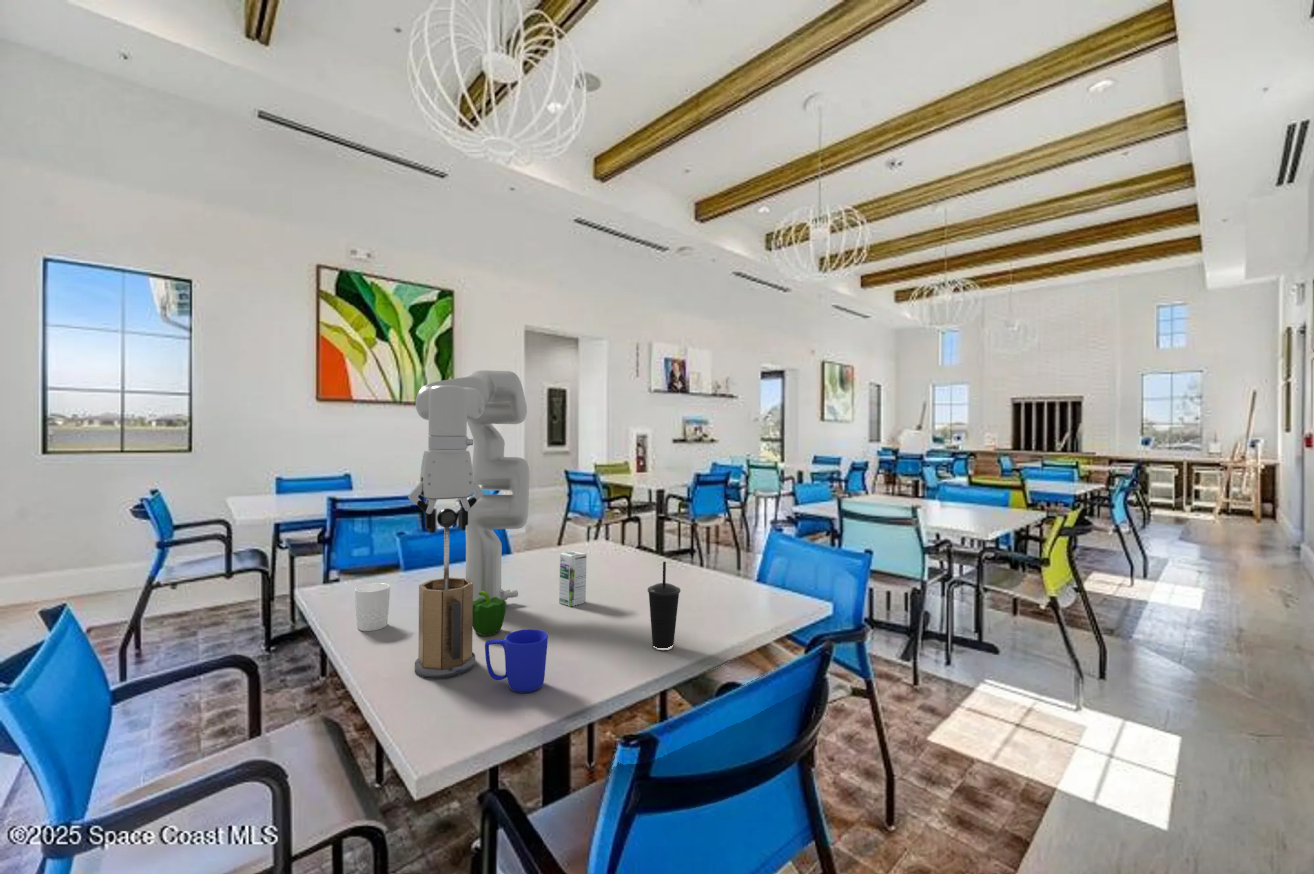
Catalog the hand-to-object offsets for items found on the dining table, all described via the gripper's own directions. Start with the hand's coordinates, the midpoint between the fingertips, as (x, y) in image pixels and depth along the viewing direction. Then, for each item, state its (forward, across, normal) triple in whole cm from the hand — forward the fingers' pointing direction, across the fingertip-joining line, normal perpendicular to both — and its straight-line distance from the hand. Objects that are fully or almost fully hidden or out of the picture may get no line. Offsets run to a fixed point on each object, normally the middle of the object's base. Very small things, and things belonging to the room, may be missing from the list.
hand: (446, 529), depth 120 cm
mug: (+29, -9, +17) cm, 35 cm away
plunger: (+14, 0, 0) cm, 14 cm away
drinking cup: (+29, -45, +16) cm, 56 cm away
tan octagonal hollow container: (+29, 0, +1) cm, 29 cm away
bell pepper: (+29, -14, -15) cm, 36 cm away
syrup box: (+29, -42, -25) cm, 57 cm away
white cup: (+29, +9, -34) cm, 46 cm away
